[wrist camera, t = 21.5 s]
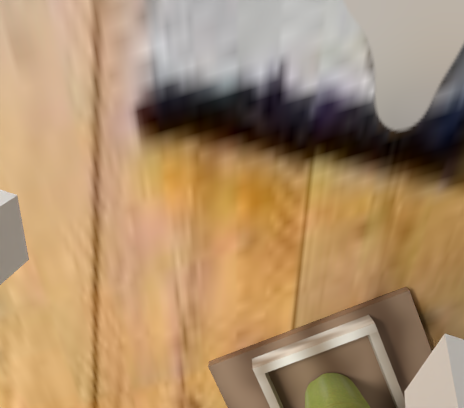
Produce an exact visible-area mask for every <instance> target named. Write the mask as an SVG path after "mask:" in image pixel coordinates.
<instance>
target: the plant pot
mask: <svg viewBox="0 0 464 408" xmlns="http://www.w3.org/2000/svg"><path fill="white" fill-rule="evenodd" d="M305 408H371V407H370V406H369V404H368V403H367V401H366V400H365V399H364V397H363V396H362V394H361V393H360V391H359V390H358V388H357V387H356V385H355V384H354V383H353V382H352V381H351V380H350V379H349V378H348V377H346V376H344V375H342V374H338V373H326V374H322V375H321V376H320V377H318V378H317V379H315V380H314V381H312V382H310V384H309V385H308V387H307V389H306V392H305Z"/></svg>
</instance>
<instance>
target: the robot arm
mask: <svg viewBox="0 0 464 408" xmlns="http://www.w3.org/2000/svg"><path fill="white" fill-rule="evenodd" d="M28 260H29V257H28V252H27V246H26V241H25V236H24V230H23V225H22V219H21V214H20V208H19V203H18V197H17V195H15V194H12V193H9V192H6V191H3V190H0V285H1V284H2V283H3V282H4V281H5V280H6V279H7V278H8V277H10V276H11V275H12V274H13V273H14V272H15V271H16V270H18V269H19V268H20V267H21V266H22V265H23V264H24V263H25V262H27V261H28ZM404 394H405V408H464V340H463V339H460V338H457V337H454V336H451V335H448V334H444V335H443V337H442V338H441V340H440V341H439V342H438V344H437V345H436V347H435V348H434V350H433V351H432V353H431V354H430V355H429V357H428V358H427V360H426V361H425V363H424V364H423V365H422V367H421V368H420V370H419V371H418V373H417V374H416V376H415V377H414V378H413V380H412V381H411V383H410V384H409V386H408V387H407V388H406V390H405V391H404Z"/></svg>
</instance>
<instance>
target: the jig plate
mask: <svg viewBox="0 0 464 408" xmlns="http://www.w3.org/2000/svg"><path fill="white" fill-rule="evenodd" d="M431 353H432V350H431V348H430V345H429V342H428V340H427V337H426V334H425V331H424V329H423V326H422V323H421V321H420V318H419V315H418V313H417V310H416V307H415V304H414V302H413V299H412V296H411V294H410V291H409V290H408V289H407V288H406V287H404V288H401V289H399V290H396V291H393V292H391V293H388V294H386V295H383V296H380V297H378V298H375V299H372V300H370V301H367V302H365V303H362V304H359V305H357V306H354V307H351V308H349V309H346V310H343V311H341V312H338V313H336V314H333V315H330V316H328V317H325V318H322V319H320V320H317V321H315V322H312V323H309V324H307V325H304V326H301V327H299V328H296V329H293V330H291V331H288V332H286V333H283V334H280V335H278V336H275V337H272V338H270V339H267V340H265V341H262V342H259V343H257V344H254V345H251V346H249V347H246V348H244V349H241V350H238V351H236V352H233V353H230V354H228V355H225V356H222V357H220V358H217V359H215V360H212V361H209V365H208V367H209V369H210V371H211V373H212V375H213V377H214V379H215V382H216V384H217V386H218V388H219V390H220V392H221V394H222V396H223V398H224V401H225V403H226V405H227V407H228V408H305V392H306V389H307V387H308V385H309V384H310V382H312V381H314V380H315V379H317V378H318V377H320V376H321V375H322V374H326V373H338V374H342V375H344V376H346V377H348V378H349V379H350V380H351V381H352V382H353V383H354V384H355V385H356V387H357V388H358V390H359V391H360V393H361V394H362V396H363V397H364V399H365V400H366V401H367V403H368V404H369V406H370V407H371V408H405V394H404V391H405V390H406V388H407V387H408V386H409V384H410V383H411V381H412V380H413V378H414V377H415V376H416V374H417V373H418V371H419V370H420V368H421V367H422V365H423V364H424V363H425V361H426V360H427V358H428V357H429V355H430V354H431Z"/></svg>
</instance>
